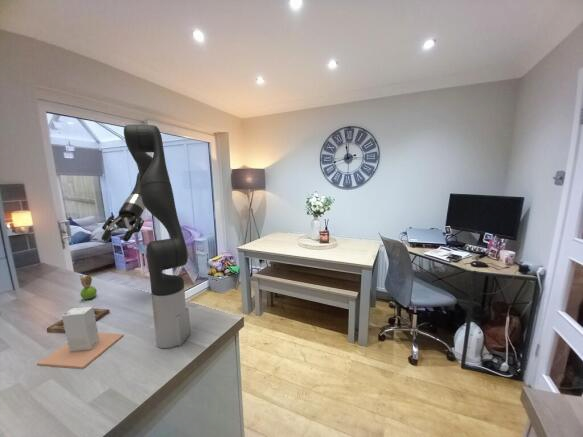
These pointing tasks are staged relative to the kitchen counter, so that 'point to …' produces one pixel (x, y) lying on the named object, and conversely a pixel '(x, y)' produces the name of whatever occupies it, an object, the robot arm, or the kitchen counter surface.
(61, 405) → the kitchen counter surface
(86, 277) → the snail figurine
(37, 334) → the kitchen counter surface
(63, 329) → the walnut collar
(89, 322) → the skincare box
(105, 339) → the terracotta mat
